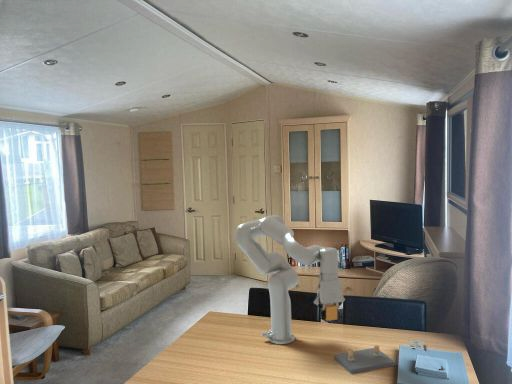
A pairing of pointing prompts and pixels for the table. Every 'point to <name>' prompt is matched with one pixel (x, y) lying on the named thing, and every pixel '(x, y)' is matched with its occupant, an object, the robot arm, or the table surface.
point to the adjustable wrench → (417, 344)
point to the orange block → (331, 312)
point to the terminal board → (364, 360)
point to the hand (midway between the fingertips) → (329, 317)
